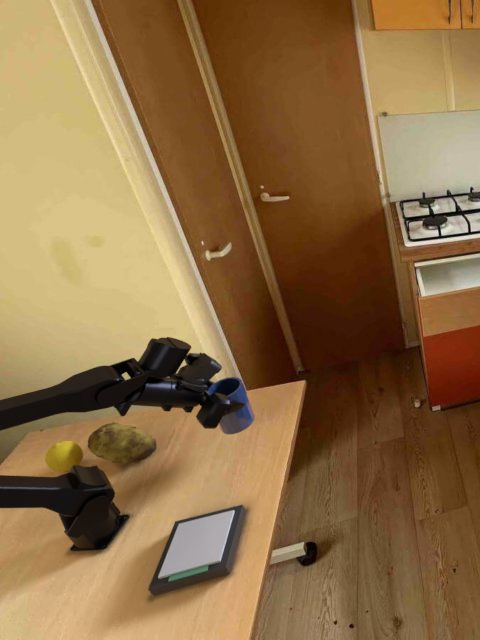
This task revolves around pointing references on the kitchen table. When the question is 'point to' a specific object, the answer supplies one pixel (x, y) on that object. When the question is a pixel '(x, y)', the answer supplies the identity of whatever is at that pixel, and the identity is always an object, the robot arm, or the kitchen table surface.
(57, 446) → the lemon
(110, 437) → the potato
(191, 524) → the scale
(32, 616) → the kitchen table surface
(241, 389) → the cup
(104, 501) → the robot arm
